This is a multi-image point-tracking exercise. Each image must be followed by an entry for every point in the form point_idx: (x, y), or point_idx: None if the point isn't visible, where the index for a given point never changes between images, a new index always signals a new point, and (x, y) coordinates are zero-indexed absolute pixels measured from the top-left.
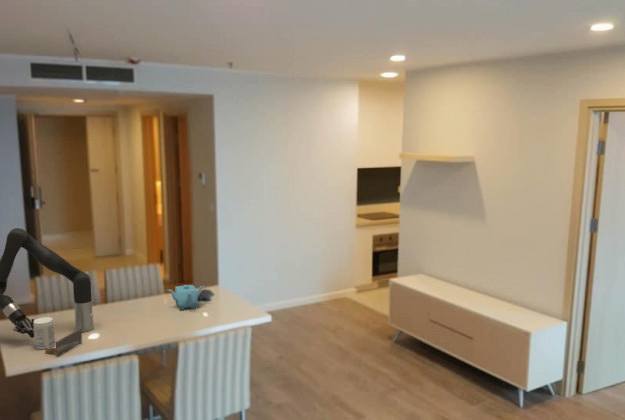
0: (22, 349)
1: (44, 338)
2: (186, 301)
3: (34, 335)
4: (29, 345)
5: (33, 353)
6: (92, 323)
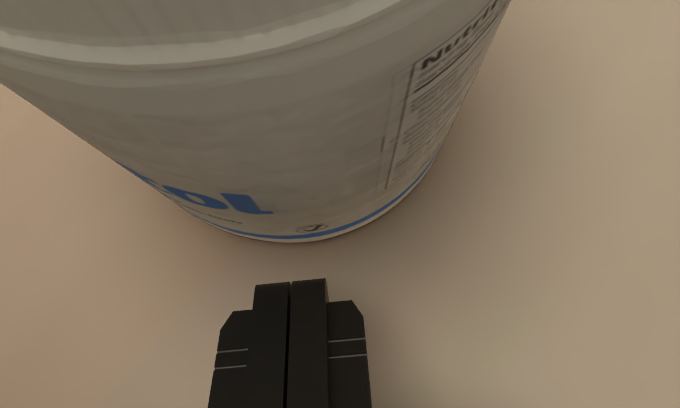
0: (573, 338)
1: None
2: None
3: (481, 61)
4: (386, 371)
5: (602, 23)
6: None
